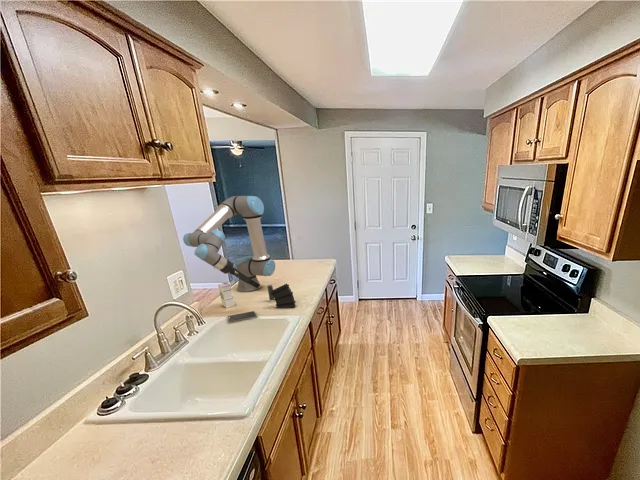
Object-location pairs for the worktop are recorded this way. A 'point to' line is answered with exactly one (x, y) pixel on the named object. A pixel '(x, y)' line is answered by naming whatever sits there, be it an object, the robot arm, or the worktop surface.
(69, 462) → the worktop surface
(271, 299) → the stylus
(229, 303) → the syrup box
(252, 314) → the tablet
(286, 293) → the black ridged block
